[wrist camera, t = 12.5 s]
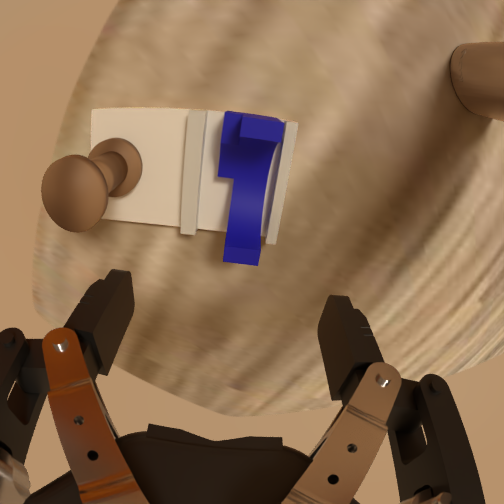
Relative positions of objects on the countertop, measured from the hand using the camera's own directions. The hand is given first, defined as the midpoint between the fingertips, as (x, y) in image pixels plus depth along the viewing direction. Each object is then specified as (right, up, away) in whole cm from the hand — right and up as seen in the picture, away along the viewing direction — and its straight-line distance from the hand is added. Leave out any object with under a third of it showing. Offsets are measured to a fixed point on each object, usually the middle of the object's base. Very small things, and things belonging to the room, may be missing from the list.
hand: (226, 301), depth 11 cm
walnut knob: (-13, +11, +15) cm, 22 cm away
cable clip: (0, +9, +16) cm, 19 cm away
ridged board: (-6, +10, +16) cm, 20 cm away
